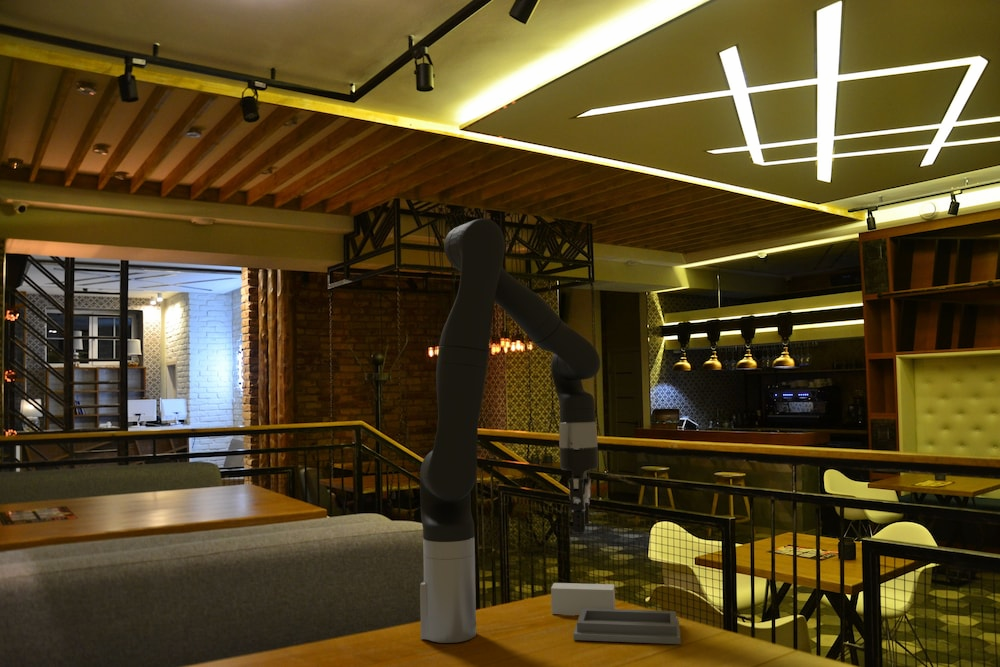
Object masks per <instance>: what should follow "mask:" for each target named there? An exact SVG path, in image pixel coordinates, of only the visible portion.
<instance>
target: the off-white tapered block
mask: <svg viewBox="0 0 1000 667" xmlns="http://www.w3.org/2000/svg"><path fill="white" fill-rule="evenodd" d="M615 595H616V592H615V584H613V583H612V584H611V583H609V584H607V583H579V582H578V583H576V582H575V583H574V582H573V583H571V582H570V583H569V582H553V584H552V586H551V587H550V598H551V599H550V600H551V601H550V602H551V606H550V607H551V615H552V614H563V615H562V616H575V615H580V613H581V610H582V608H590V609H616V596H615Z"/></svg>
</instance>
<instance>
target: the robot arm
mask: <svg viewBox="0 0 1000 667" xmlns="http://www.w3.org/2000/svg"><path fill="white" fill-rule="evenodd" d="M505 241H506V240H505V236H504V233H503V230H502V229H501V228H500V226H499V225H498V224H497V223H496V222H495V221H494V220H492V219H489V218H477V219H474V220H471V221H468V222H465V223H464V224H460V225H459V226H456V227H454V228H453V229H452V230H450V231H449V232H448V233H447V235H446V237H445V239H444V243H443V246H444V247H443V250H444V254H445V257H446V259H447V260H448V262H449V264H451V266H452V267H453V268H455V270H457V271H458V272H460V277H459V279H460V280H459V285H458V290H457V294H456V297H455V300H454V303H453V305H452V308H451V309H450V313H449V314H448V317H447V319H446V320H445V321H446V322H445V323H444V326H443V328H442V332H441V335H440V338H439V343H438V351H437V360H436V372H435V373H436V374H435V378H436V379H435V381H436V382H435V383H436V386H435V387H436V399H437V400H436V401H437V412H438V413H437V417H438V418H437V426H436V433H435V439H434V443H433V449H432V450H431V451H430V452H429V453H427V454H426V456H425V457H424V459H423V460H422V463H421V465H420V470H419V471H420V472H419V494H420V495H419V496H420V498H419V499H420V518H421V523H422V543H423V544H422V549H423V552H422V553H423V556H422V557H423V581H422V582H421V583H420V585H419V586H420V587H419V594H420V595H419V598H420V599H419V600H420V605H419V608H420V611H419V613H420V640H427V641H430V642H434V643H440V644H453V643H462V642H466V641H468V640H472V639H473V638H475V637H476V636H477V612H476V610H477V607H476V606H477V605H476V604H477V603H476V602H477V601H476V553H475V552H476V551H475V550H476V549H475V522H474V518H473V515H472V514H473V513H472V510H471V494H470V493H471V491H472V490H473V488H474V486H475V484H476V481H477V477H478V476H477V475H478V430H479V420H480V413H481V410H482V405H483V404H482V403H483V399H484V398H483V397H484V393H485V392H484V391H485V385H486V384H485V383H486V378H487V371H488V364H489V354H490V343H491V342H490V341H491V332H492V325H493V317H494V308H495V303H496V304H497V305H498V306H499V307H500V308H501V309H503V311H505V313H507V315H508V316H509V317H510V318H511V319H513V321H514V322H515V323H516V324H517V325H518V326H519V327H520V328H521V330H522V331H523V332H524V333H525V334H526V335H527V337H529V339H530V340H531V341H532V342H533V343H534V344H535V345H536V346H537V347H538V348H539V349H541V350H543V351H545V352H546V351H547V352H550V353H552V354H553V356H552V358H551V362H550V369H551V370H550V372H551V376H552V380H553V384H554V388H555V392H556V395H557V399H558V401H559V422H560V423H559V431H558V432H559V434H558V440H559V441H558V442H559V443H558V444H559V464H560V465H559V467H560V469H561V470H562V471H571V478H569V479H568V488H569V509H570V511H571V513H572V529H573V532H574V533H584V532H585V531H586V525H587V526H588V525H589V523H590V512H589V509H590V508H589V506H590V503H591V502H590V501H591V492H592V491H591V478H590V473H589V471H592V470H593V471H594V470H597V469H598V467H599V453H598V452H599V451H598V450H599V449H598V432H597V427H596V426H597V425H596V409H595V408H596V406H595V399H594V396H593V395H592V394H591V393H590V392H587V391H585V390H584V387H583V382H582V380H589V379H592V378H594V377H595V376H596V375H598V373H599V371H600V367H601V359H600V355H599V352H598V351H597V349H596V348H595V347H594V346H593V344H592V343H591V342H590V341H589V340H588V339H587V338H585V337H584V336H582V335H581V334H580V333H578V332H577V331H576V330H574V329H573V328H571V327H570V326H568V324H566V323H565V322H564V321H563V320H562V318H561V317H560V316H559V315H558V314H557V313H556V312H555V311H554V309H553V308H552V306H551V305H549V304H548V303H547V301H545V299H544V298H542V297H541V296H540V295H538V294H537V293H536V292H534V291H533V290H531V289H530V288H529V287H527V286H526V285H524V284H523V283H521V282H519V281H518V280H517V279H516V278H514V277H513V276H512V275H511V274H510V273H508V272H507V270H505V268H503V267H502V266H503V262H504V258H505V249H506V247H505V246H506V245H505V243H506V242H505Z"/></svg>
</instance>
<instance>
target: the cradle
mask: <svg viewBox="0 0 1000 667" xmlns="http://www.w3.org/2000/svg"><path fill="white" fill-rule="evenodd" d="M676 612H677V611H675V610H674V611H673V610H647V609H646V610H645V609H644V610H643V609H621V608H620V609H619V608H618V609H617V608H615V609H590V608H582V610H581V613H580V615H579V616H578V619H577V621H576V625H575V628H574V631H573V641H592V642H593V641H594V642H595V641H596V642H618V643H619V642H622V643H640V644H642V643H645V644H663V645H665V644H666V645H681V644H682V643H681V630H680V621H679V617H677V615H676V614H677V613H676Z"/></svg>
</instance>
